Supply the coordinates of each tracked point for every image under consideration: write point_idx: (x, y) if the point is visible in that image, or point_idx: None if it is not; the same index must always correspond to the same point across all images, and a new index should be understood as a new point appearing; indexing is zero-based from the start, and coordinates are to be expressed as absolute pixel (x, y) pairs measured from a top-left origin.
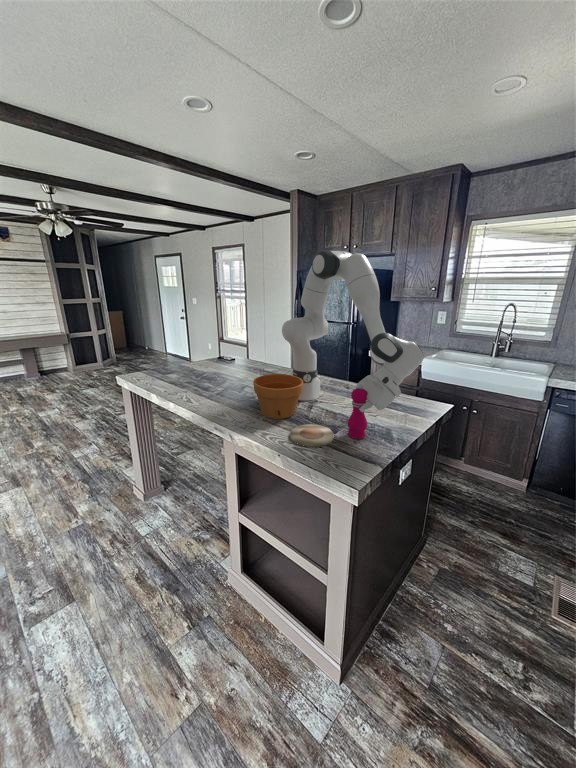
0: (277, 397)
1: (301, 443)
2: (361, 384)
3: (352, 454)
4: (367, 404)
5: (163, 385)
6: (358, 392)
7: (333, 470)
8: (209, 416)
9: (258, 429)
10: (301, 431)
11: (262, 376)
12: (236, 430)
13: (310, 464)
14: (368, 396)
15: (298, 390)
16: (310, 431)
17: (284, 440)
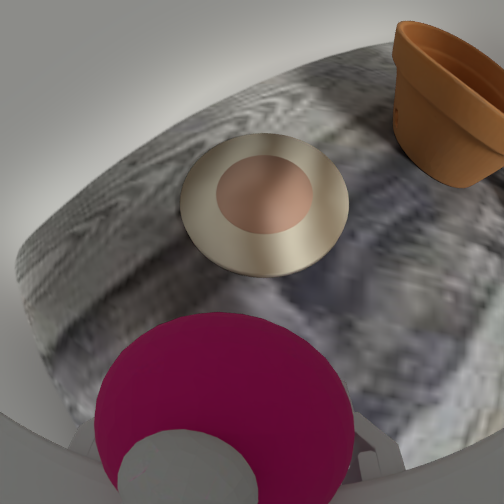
0: (395, 59)
1: (204, 156)
2: (489, 499)
3: (108, 305)
4: (87, 428)
5: None
6: (112, 381)
7: (66, 224)
8: (375, 50)
9: (322, 90)
10: (284, 161)
11: (491, 61)
12: (315, 64)
13: (108, 175)
14: (88, 480)
15: (461, 105)
16: (281, 188)
17: (250, 127)
